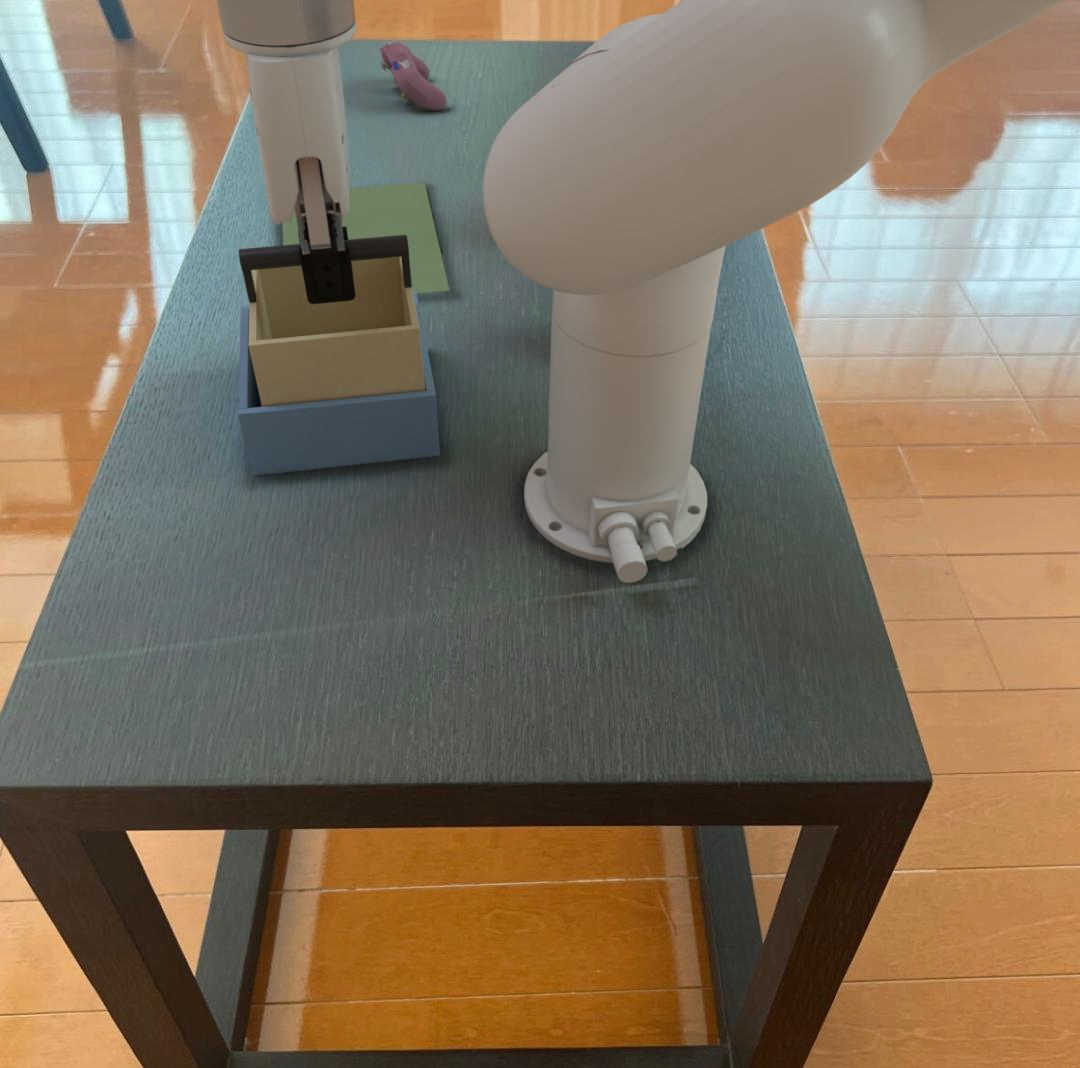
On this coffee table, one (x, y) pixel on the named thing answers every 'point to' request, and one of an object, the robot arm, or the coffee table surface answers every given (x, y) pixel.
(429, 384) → the blue bin
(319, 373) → the cream bin
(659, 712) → the coffee table surface
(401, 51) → the pink curved piece
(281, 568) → the coffee table surface
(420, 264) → the mat
